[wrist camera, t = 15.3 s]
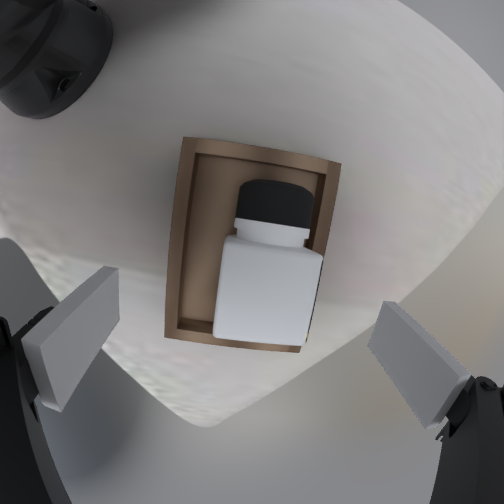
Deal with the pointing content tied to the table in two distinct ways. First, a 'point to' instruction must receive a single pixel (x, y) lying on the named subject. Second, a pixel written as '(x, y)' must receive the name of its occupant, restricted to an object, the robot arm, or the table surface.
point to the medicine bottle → (268, 267)
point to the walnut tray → (228, 225)
